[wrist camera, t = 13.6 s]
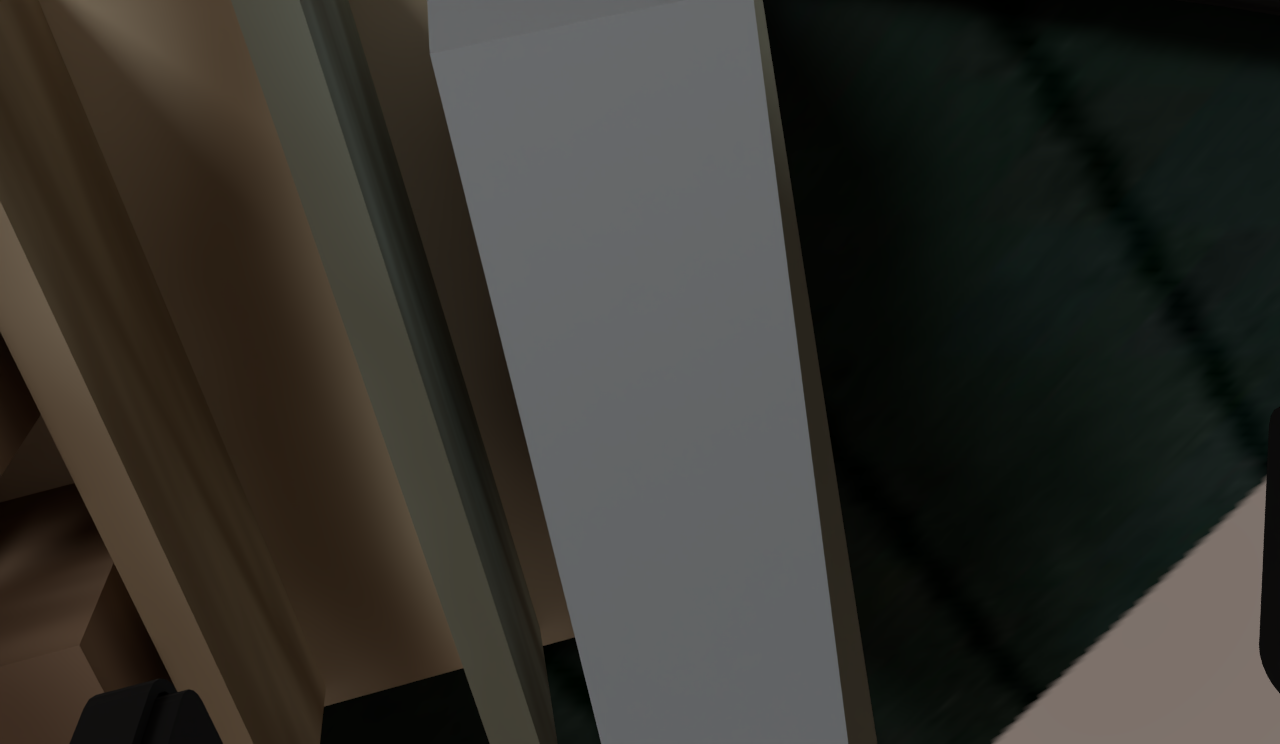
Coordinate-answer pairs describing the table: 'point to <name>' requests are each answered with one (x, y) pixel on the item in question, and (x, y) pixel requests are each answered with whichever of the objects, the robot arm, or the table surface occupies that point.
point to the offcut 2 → (62, 619)
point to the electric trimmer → (1245, 5)
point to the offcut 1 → (13, 407)
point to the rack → (294, 357)
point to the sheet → (651, 353)
